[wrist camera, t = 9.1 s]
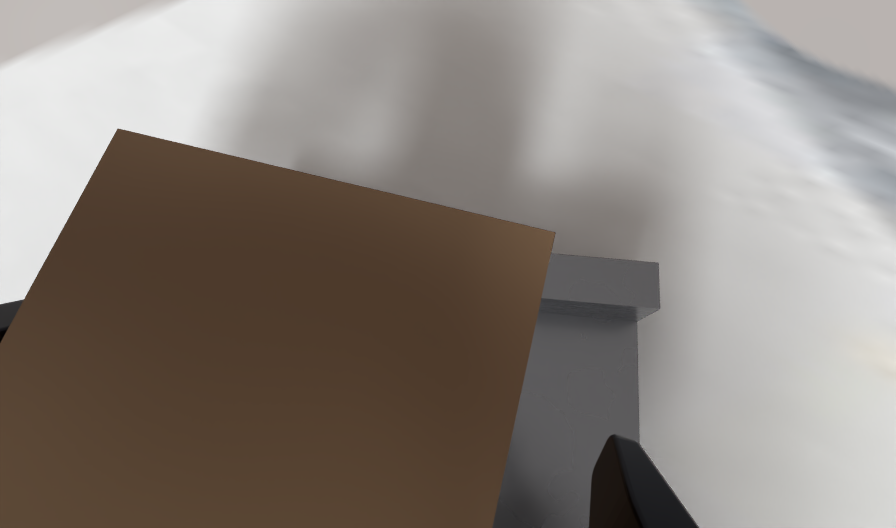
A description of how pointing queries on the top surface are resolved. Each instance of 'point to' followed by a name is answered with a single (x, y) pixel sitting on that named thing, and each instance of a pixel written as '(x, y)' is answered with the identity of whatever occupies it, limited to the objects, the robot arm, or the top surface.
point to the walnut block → (264, 353)
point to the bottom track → (575, 387)
